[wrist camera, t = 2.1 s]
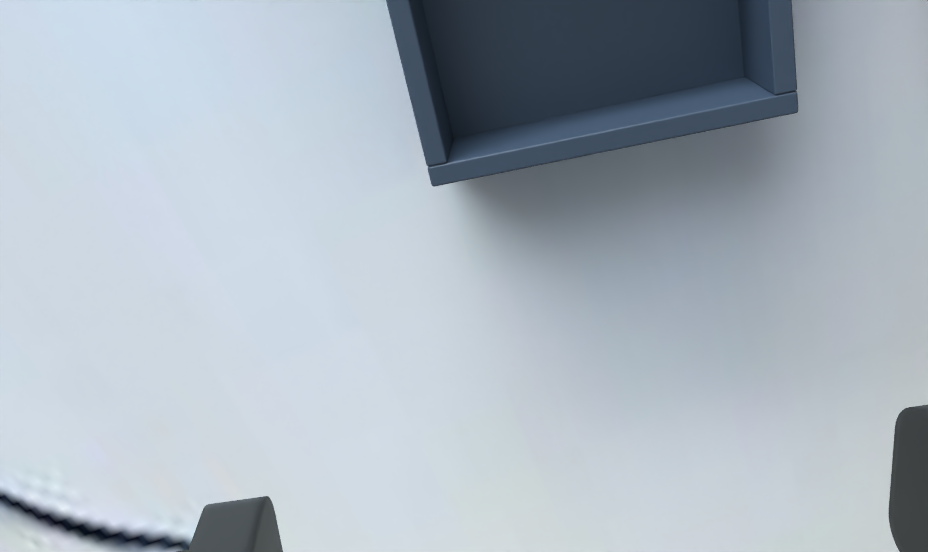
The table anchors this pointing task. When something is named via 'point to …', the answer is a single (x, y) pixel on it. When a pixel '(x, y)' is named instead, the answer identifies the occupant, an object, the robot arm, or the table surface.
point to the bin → (585, 75)
